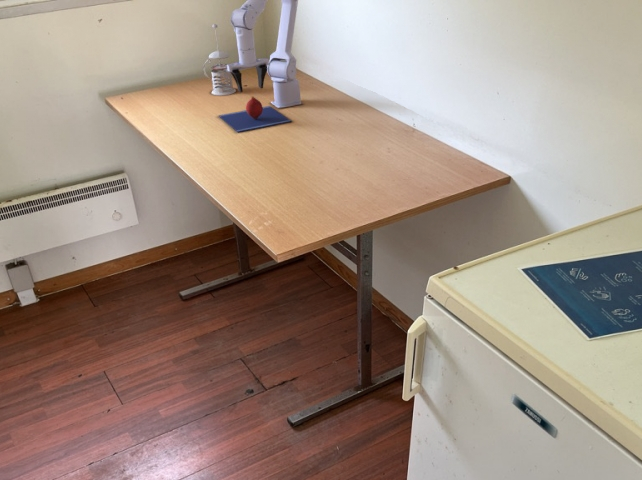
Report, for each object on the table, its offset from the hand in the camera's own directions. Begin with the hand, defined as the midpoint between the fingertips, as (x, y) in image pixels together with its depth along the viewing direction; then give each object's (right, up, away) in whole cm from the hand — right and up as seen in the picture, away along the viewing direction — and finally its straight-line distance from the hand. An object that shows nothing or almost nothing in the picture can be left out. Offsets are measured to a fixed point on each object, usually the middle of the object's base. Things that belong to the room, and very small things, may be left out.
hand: (250, 89), depth 231 cm
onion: (+1, -9, +5) cm, 10 cm away
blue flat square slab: (+1, -9, +6) cm, 10 cm away
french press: (-16, +12, +34) cm, 40 cm away
